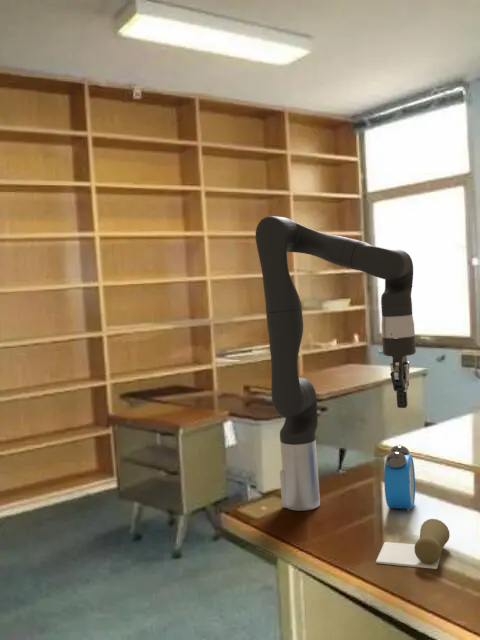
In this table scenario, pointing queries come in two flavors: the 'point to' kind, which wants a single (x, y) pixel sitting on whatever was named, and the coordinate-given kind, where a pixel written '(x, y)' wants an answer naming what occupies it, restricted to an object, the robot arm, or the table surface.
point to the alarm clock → (399, 478)
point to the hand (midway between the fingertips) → (402, 407)
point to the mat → (402, 556)
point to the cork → (431, 541)
